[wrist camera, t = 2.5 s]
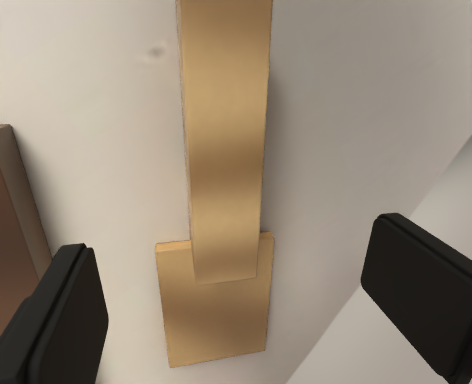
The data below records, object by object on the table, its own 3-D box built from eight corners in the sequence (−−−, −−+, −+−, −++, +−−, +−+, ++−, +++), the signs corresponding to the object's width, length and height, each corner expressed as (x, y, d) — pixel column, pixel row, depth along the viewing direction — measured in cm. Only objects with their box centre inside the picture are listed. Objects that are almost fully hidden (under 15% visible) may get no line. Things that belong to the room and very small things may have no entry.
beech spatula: (125, -4, 12) (106, -31, 8) (288, 5, 13) (332, -15, 9) (169, 358, 21) (169, 419, 17) (262, 341, 22) (280, 395, 19)
